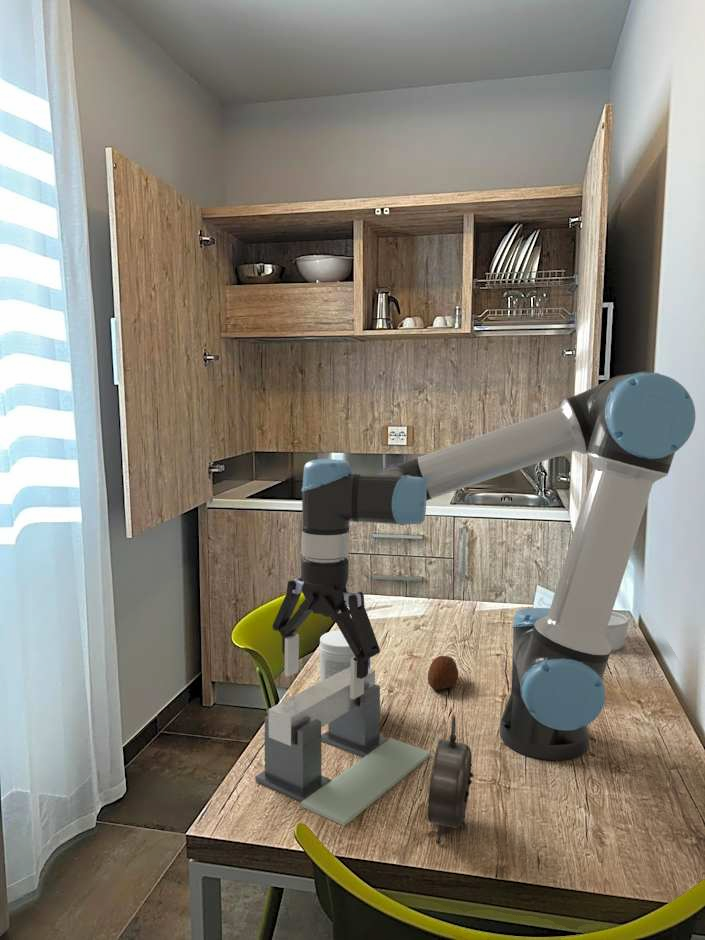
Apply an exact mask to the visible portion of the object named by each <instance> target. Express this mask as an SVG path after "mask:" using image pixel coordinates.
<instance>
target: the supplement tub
mask: <svg viewBox="0 0 705 940" xmlns="http://www.w3.org/2000/svg"><path fill="white" fill-rule="evenodd" d="M318 648H319V653H318V655H319V657H318V658H319V682H321V681H323V680H325V679H327V678H329V677H331V676H333V675H335V674H336V673H338V672H340V671H342V670H344V669H346V668H348V667H350V666H351V658H352V657H354V656H355V655H354V653H353V652H352V650H351V648H350V646H349V645H348V643H347V641H346V639H345V638H344V636H343V634H342V632H341V631H340V629H338V630H333V631H328V632H326V633H323V634H322V635H321V636H320V638H319V647H318ZM360 650H361V649H360ZM368 668H369V669H371V658H369V659H368Z"/></svg>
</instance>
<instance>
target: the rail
mask: <svg viewBox="0 0 705 940" xmlns="http://www.w3.org/2000/svg"><path fill="white" fill-rule="evenodd" d="M350 667H351V666H350ZM350 667H348V668H346V669H344V670H342V671H340V672H338V673H336V674H335V675H333V676H331V677H329V678H327V679H325V680H323V681H321V682H320V681H319V682H318V683H316V684H314V685H312V686H310V687H308V688H306V689H305V690H302V691H300V692H299V693H297V694H295V695H293V696H291V697H289V698H286V699H285V700H284V701H281V702H280V703H278V704H275V705H274V706H272V707H269V708H268V715H269V738H272V739H274V740H277V741H279V742H282V743H284V744H287V745H289V746H292V745H294V744H295V743H297V730H298V729H300V728H302V727H303V726H305V725H307V724H308V723H310V722H312V721H314V720H315V719H318V720H320V721H321V729H322V728H324V727H325V726H326V725H327V726H328V723H330V722H332V721H333V720H335V719H336V718H338V717H340V716H341V715H343V714H345V713H346V712H348V711H350V710H351V709H353V708H355V707H356V706H358V705H359V704H360V696H359V697H357V698H356V699H354V700H353V699H351V698H350ZM373 685H376V670H375V669H372V668H370V669H369V668H368V675H367V676H366V677H364V691H365V690H366V689H368V688H370V687H372V686H373Z"/></svg>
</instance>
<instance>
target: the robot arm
mask: <svg viewBox="0 0 705 940" xmlns="http://www.w3.org/2000/svg"><path fill="white" fill-rule="evenodd" d="M695 424H696V407H695V403H694V401H693V398H692V397H691V395H690V393H689V392H688V389H686V388H685V386H683V384H681V383H680V382H679V381H677V380H676V379H674V378H672V377H671V376H670V377H669V376H668V375H664V374H661V373H659V372H650V371H639V372H634V373H626V374H620V375H616V376H613V377H612V378H610V379H607V380H605V381H603V382H601V383H600V384H598V385H596V386H594V387H592V388H589V389H587V390H584V391H582V392H581V393H578V394H576V395H573V396H570V397H568V398H564V399H563V400H562V402H561V404H560V406H559V407H557V408H555V409H552V410H549V411H546V412H543V413H540V414H538V415H534V416H532V417H529V418H525V419H524V420H521V421H517V422H514V423H511V424H509V425H507V426H504V427H503V426H502V427H501V428H498V429H495V430H492V431H489V432H486V433H484V434H481V435H478V436H475V437H472V438H470V439H466V440H464V441H463V440H462V441H461V442H459V443H458V442H457V443H455V444H452V445H449V446H447V447H443V448H440V449H439V450H438V449H437V450H435V451H432V452H430V453H427V454H424V455H421V456H418V457H417V458H413V459H410V460H407V461H404V462H402V463H393V464H391V465H390V464H389V466H386V467H384V468H383V469H382V470H380V471H379V473H378V474H361V473H352V472H353V470H352V469H351V463H350V462H349V461H347V460H343V459H333V458H330V459H329V458H328V459H327V458H323V459H320V458H319V459H312V460H309V461H308V462H306V463H305V464H304V466H303V474H302V475H303V477H302V488H301V497H302V498H301V499H302V502H301V503H302V505H301V507H302V509H301V510H302V511H301V513H302V516H301V517H302V519H301V520H302V522H301V523H302V527H301V555H302V556H303V558H302V559H301V569H300V570H301V574H300V575H301V576H300V577H298V578H294V579H292V580H289V581H288V582H287V585H286V586H287V587H286V593H285V595H284V598H283V601H282V603H281V605H280V608H278V609H279V610H278V612H277V615H276V617H275V619H274V621H273V623H272V630H273V631H276V632H279V634H280V636H281V637H282V639H281V650H282V655H284V676H285V677H287V678H288V677H291V676H294V675H295V674H297V673H299V666H300V661H299V660H300V655H299V654H300V653H299V652H300V647H299V646H300V635H299V634H298V633H297V632H298V629H299V628H300V626H301V625H302V624H303V623H304V622H305V621H306V619H308V617H309V616H310V615H311V613H313V614H315V615H317V614H318V615H321V616H323V617H327V618H328V617H330V619H331V621H332V622H333V623H336V625H337V627H338V630H340V631H341V632H342V634H343V636H344V638H345V639H346V641H347V643H348V645H349V646H350V648H351V650H352V652H353V653H354V655H355V656H354V657H352V658H351V667H350V698H351V699H353V700H354V699H356V698H357V697H359V696H361V695H362V694H364V677H366V676H367V675H368V659H369V658H370V659H371V658H372V657H374V656H376V655H378V654H380V652H381V649H380V646H379V643H378V640H377V638H376V635H375V631H374V629H373V627H372V624H371V623H372V622H371V621H370V618H369V616H368V612H367V609H366V608H365V607H366V606H365V597H364V593H363V592H362V591H359V592H358V591H357V592H355V593H352V592H348V590H347V583H348V581H349V567H350V566H349V565H350V564H349V561H350V559H348V557H347V556H349V553H350V552H349V551H350V522H353V523H372V524H373V523H374V524H375V523H376V524H386V525H387V524H389V525H399V526H406V525H422V524H423V523H424V521H425V519H426V513H427V502H428V501H429V500H432V499H434V498H437V497H440V496H443V495H445V494H449V493H453V492H455V491H458V490H461V489H464V488H468V487H470V486H473V485H476V484H479V483H483V482H486V481H488V480H491V479H493V478H494V479H495V478H497V477H500V476H504V475H506V474H509V473H512V472H515V471H517V470H521V469H524V468H526V467H530V466H533V465H536V464H539V463H542V462H545V461H549V460H551V459H554V458H557V457H559V456H563V455H566V454H569V453H573V452H577V453H580V454H581V455H586V456H587V458H588V459H589V461H590V462H591V464H592V469H591V474H590V476H589V481H588V484H587V487H586V490H585V492H584V493H585V494H584V496H583V501H582V504H581V507H580V509H579V513H578V516H577V518H576V519H577V520H576V522H575V526H574V529H573V533H572V536H571V538H570V542H569V546H568V550H567V552H566V555H565V558H564V559H565V560H564V562H563V566H562V568H561V571H560V576H559V578H558V581H557V584H556V587H555V588H556V589H555V591H554V595H553V598H552V601H551V605H550V607H549V608H548V607H529V608H523V609H520V610H518V611H516V612H515V613H514V617H513V624H512V625H511V626H512V627H511V628H512V630H513V633H512V638H513V639H512V656H511V658H512V659H511V660H512V661H511V663H512V664H511V690H510V691H511V692H510V694H509V698H508V699H507V702H506V704H505V707H504V710H503V713H502V714H501V718H500V722H499V736H500V739H501V740H502V742H503V743H504V744H505V745H506V746H508V747H509V748H510V749H512V750H514V751H516V752H517V753H519V754H521V755H523V756H528V757H530V758H531V757H532V758H535V759H540V760H548V761H564V760H569V759H571V760H572V759H576V758H578V757H580V756H583V755H584V754H585V753H586V752H587V751H588V749H589V745H590V731H589V726H588V725H589V724H591V723H593V722H594V721H595V720H596V719H597V718H598V717H599V716H600V714H601V713H602V710H603V708H604V706H605V700H606V699H605V698H606V687H605V684H604V681H603V679H604V678H603V677H604V674H605V671H606V668H607V665H608V663H609V658H610V655H611V653H612V651H611V646H610V644H609V643H608V641H607V639H606V637H605V632H606V629H607V626H608V623H609V620H610V617H611V613H612V611H613V610H614V607H615V603H616V601H617V598H618V594H619V591H620V588H621V585H622V581H623V580H624V579H623V578H624V576H625V572H626V569H627V567H628V563H629V560H630V557H631V554H632V551H633V548H634V544H635V541H636V539H637V535H638V532H639V529H640V525H641V523H642V519H643V517H644V514H645V510H646V506H647V504H648V500H649V498H650V494H651V491H652V488H653V485H654V484H655V483H656V482H657V481H659V480H661V479H663V478H666V477H667V476H668V475H669V472H670V469H671V466H672V463H673V459H674V456H675V454H676V452H678V450H680V449H681V448H682V447H683V446H684V445H685V444H686V443H687V442H688V440H689V439H690V437H691V435H692V433H693V431H694V428H695ZM301 595H303V598H304V600H303V601H302V602H301V604H300V605H299V606H298V609H297V610H296V612H295V613H294V611H295V609H296V606H297V604H298V603H299V600H300V597H301ZM339 612H340V613H339ZM293 613H294V614H293ZM360 649H361V650H360Z"/></svg>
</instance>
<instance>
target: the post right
mask: <svg viewBox="0 0 705 940" xmlns="http://www.w3.org/2000/svg"><path fill="white" fill-rule="evenodd" d="M380 719H381V685H380V684H379V685H378V684H375V685H373V686H372V687H370V688H368V689H366V690H365V691H364V694H362V695H361V696H360V704H359V705H358V706H356V707H355V708H353V709H351V710H350V711H348V712H346V713H345V714H343V715H341V716H340V717H338V718H336V719H335V720H333V721H332V722H330V723H328V724H327V726H328V730H327V731H326V732H324V733H323V734H321V742H323V743H326V744H328V745H331V746H333V747H336V748H338V749H341V750H344V751H346V752H349V753H352V754H354V755H356V756H360V757H361V758H363V757H365V756H366V755H368V754H369V753H370V752H372V751H373V750H375V749H376V748H377V747H379V746H380V745H382V744H383V743H384V742H386V741H387V740H389V738H387V737H385V736H382V735H380V734H381V731H380V730H381V728H380V727H381V722H380V721H381V720H380Z"/></svg>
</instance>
